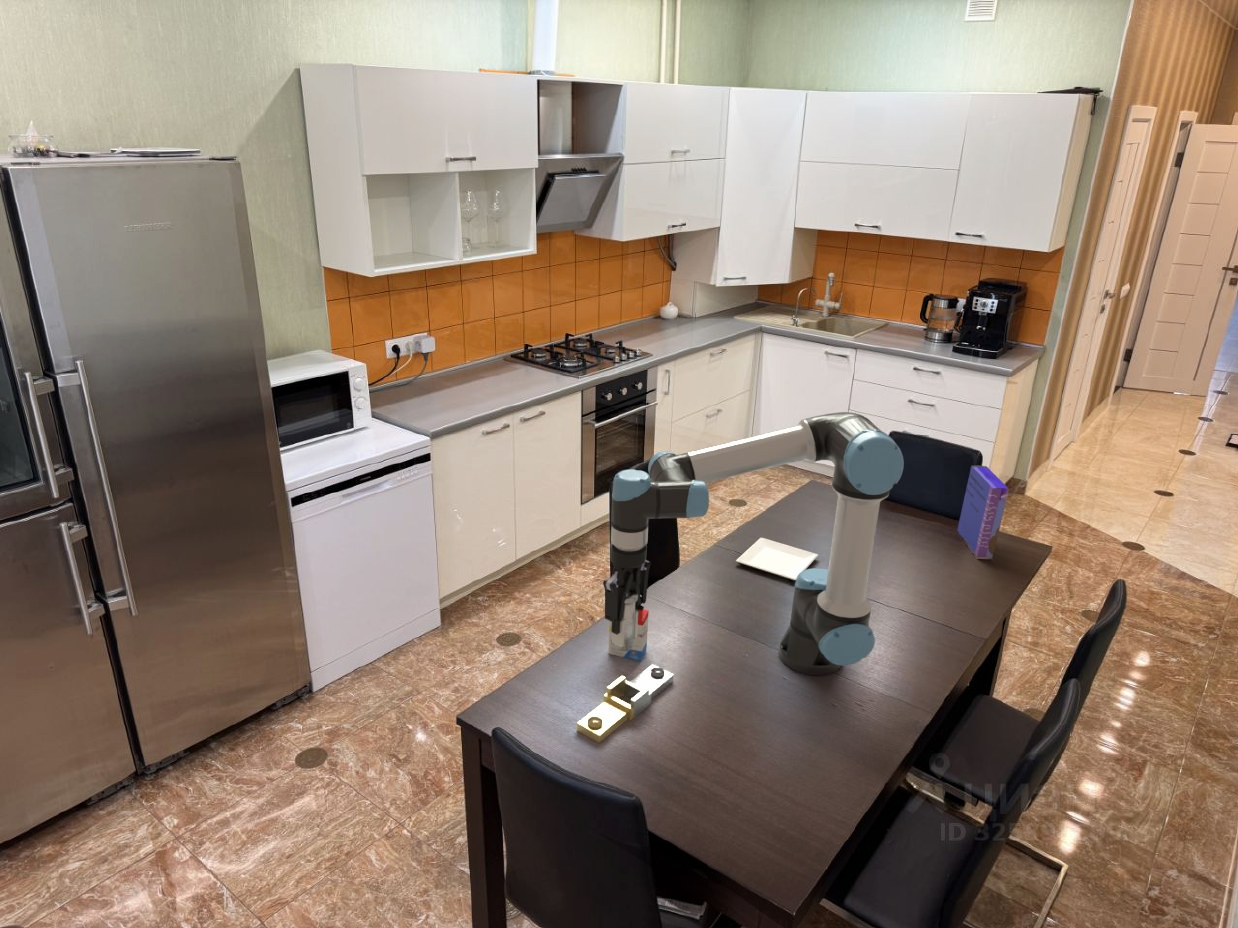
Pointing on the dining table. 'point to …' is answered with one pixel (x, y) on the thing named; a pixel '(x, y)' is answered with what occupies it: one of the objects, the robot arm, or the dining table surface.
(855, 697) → the dining table surface
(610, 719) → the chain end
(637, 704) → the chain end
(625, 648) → the pin
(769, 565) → the plate
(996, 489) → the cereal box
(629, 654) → the ink box
